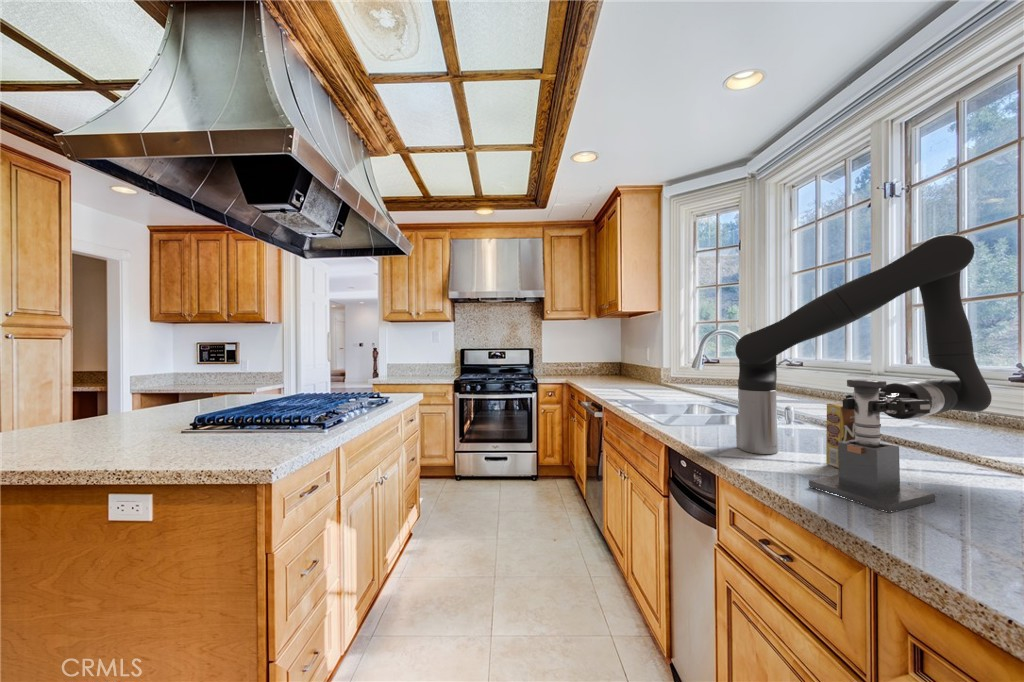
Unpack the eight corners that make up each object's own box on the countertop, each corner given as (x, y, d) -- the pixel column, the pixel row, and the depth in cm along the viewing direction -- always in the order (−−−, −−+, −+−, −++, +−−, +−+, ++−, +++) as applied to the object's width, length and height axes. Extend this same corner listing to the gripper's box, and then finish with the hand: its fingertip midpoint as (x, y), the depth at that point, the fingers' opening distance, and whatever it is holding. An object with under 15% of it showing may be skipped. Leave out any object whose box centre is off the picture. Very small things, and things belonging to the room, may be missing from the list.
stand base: (809, 487, 86) (807, 440, 86) (852, 478, 91) (851, 433, 91) (889, 513, 73) (887, 457, 73) (935, 501, 77) (934, 448, 77)
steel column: (842, 483, 84) (839, 380, 84) (861, 479, 86) (858, 378, 86) (876, 493, 78) (873, 382, 78) (896, 488, 80) (893, 381, 80)
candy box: (842, 470, 97) (840, 405, 97) (825, 464, 101) (824, 403, 101) (874, 467, 98) (873, 404, 98) (857, 462, 102) (855, 401, 102)
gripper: (871, 379, 93) (819, 383, 88) (955, 385, 80) (901, 390, 74) (872, 412, 93) (820, 418, 87) (956, 423, 80) (902, 431, 74)
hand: (857, 405), depth 81 cm, fingers closed on steel column, 3 cm apart
